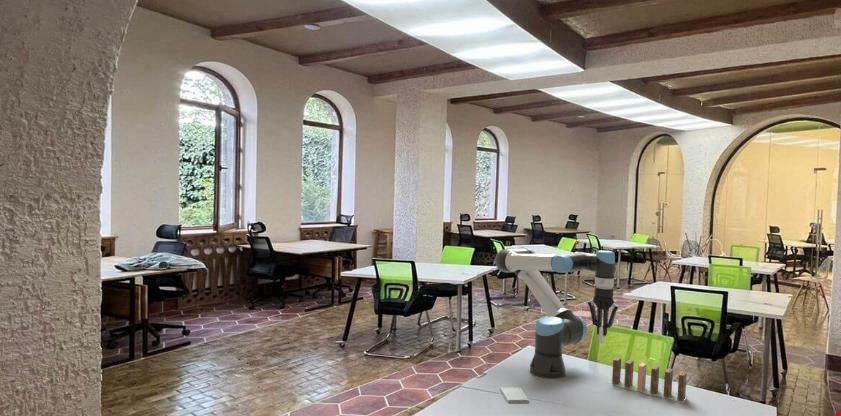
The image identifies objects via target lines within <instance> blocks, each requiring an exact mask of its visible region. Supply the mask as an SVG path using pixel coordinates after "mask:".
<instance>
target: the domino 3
mask: <svg viewBox="0 0 841 416" xmlns="http://www.w3.org/2000/svg"><path fill="white" fill-rule="evenodd" d="M637 366H638V367H637V369H638V370H637V383H636V384H637V390H639V391H642V390H643V389H644V388H645V386H646V384H647V383H646V379H647V378H646V377H647V363H645V362H641V363H640V364H639V365H637ZM639 391H638V392H639Z"/></svg>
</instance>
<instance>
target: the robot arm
mask: <svg viewBox="0 0 841 416" xmlns="http://www.w3.org/2000/svg"><path fill="white" fill-rule="evenodd" d="M615 260H616V256H615V252H614V251H611V250H597V251H596V252H595V254H594V253H588V252H584V251H575V252H573V253H567V254H566V253H561V254H559V253H556V254H555V253H536V252H535V251H534V250H533V249H531V248H529V247H518V248H517V247H516V248H515V247H514V248H504V249H501V250H499V251H498V252H497V253H496V255H495V259H494V263H495V264H494V265H495V266H496V268H497V269H498V270H499V271H501V272H503V273H507V274H508V273H509V274H510V273H514V274H515V275H516V277H517V278H518V279H519V280H523V282H524V283H525V285H526V286H527V288H529V290H530V292H531V293H532V295H533V296H534V297H535V299H536V301H537V302H538V303H539V305H540V306H541V308H542V309H543V311H544V312H545V314H546V315H547V316H545V317H544V316H542V317H541V318H539V319H538V320H537V321H536V324H535V329H534V330H535V335H534V336H535V337H534V338H535V339H534V355H533V357H532V360H531V362H530V365H529V371H530V373H531V374H533V375H534V376H537V377H541V378H546V379H560V378H564V377H565V376H566V365H565V362H564V359H563V347H565V346H570V345H571V346H572V345H577V344H578V343H581V342H583V341H585V339H586V337H587V335H588V326H587V323H586V321H585V319H584V318H582V317H581V316H579V315H575V314H574V313H573V311H572V310H571V309H569V308H566V307H565V306H564V305H563V303H562V302H561V300H560V299H559V297H558V296H557V295H556V293H555V292H554V290H553V289H552V288H551V286H550V285H549V283H548V282H547V280H546V279H545V278H544V276H543V275H542V273H541V271H542V272H556V273H561V274H562V273H564V274H565V273H569V272H570V273H571V272H580V271H588V272H594V273H595V276H594V277H595V278H594V286H595V287H594V293H593V294H594V297H593V299H592V300H590V301H588V302H587V306H588V307H589V311H590V316H591V321H592V325H594V326H595V327H596V334H597V335H598V344H604V343H605V337H606V336H607V335H608V328H611V327H612V326H613V324H614V320H615V317H616V314H617V311H618V310H619V309H620V305H617V304H616V303H615V301H614V289H613V288H614V287H615V286H614V285H615V282H614V281H615V267H616V266H615V265H616V261H615ZM595 306H596V308H597V309H596V308H595ZM611 307H612V308H611ZM610 309H612V310H611V313H610V317H609V311H610ZM596 312H597V313H596Z"/></svg>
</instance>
